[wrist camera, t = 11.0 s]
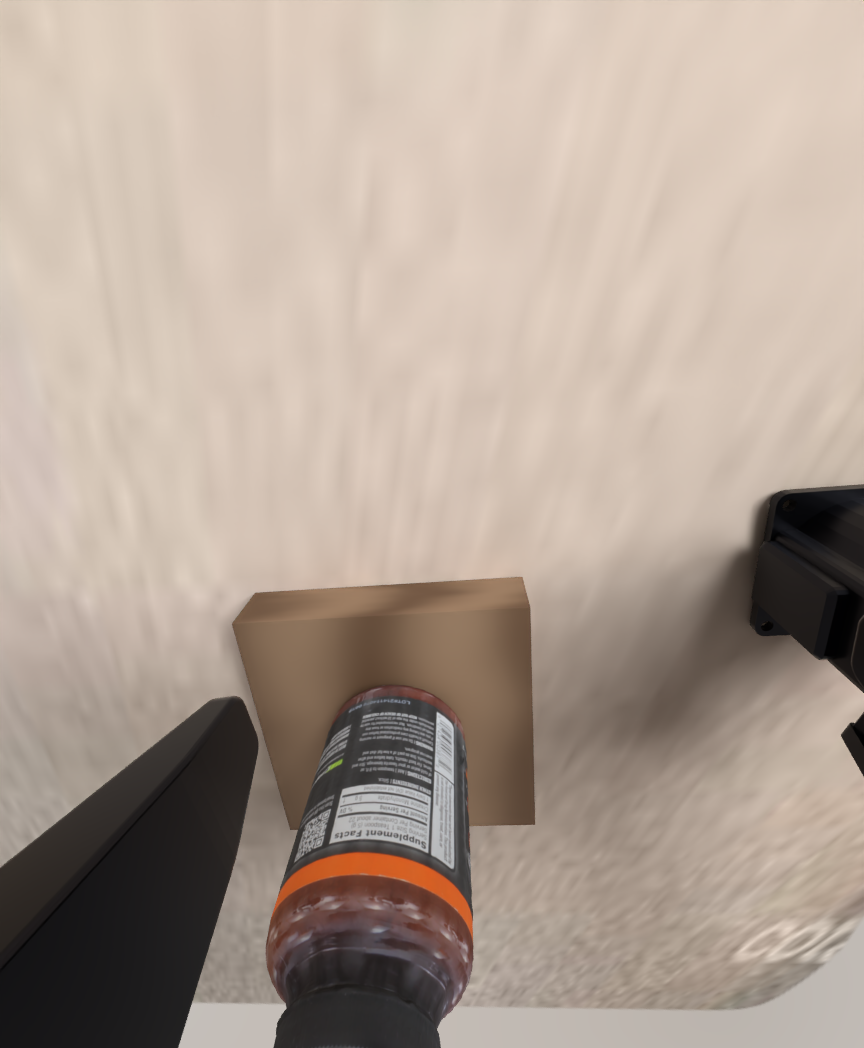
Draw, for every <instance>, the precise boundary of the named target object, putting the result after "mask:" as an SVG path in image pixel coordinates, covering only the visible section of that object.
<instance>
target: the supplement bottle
mask: <svg viewBox="0 0 864 1048" xmlns="http://www.w3.org/2000/svg"><path fill="white" fill-rule="evenodd" d="M467 769H468V766H467V750H466V744H465V735H464V731H463V728H462V725H461V721H460V720H459V718H458V717H457V715H456V714H455V712H454V711H453V710H452V709H451V708H450V707H449V706H448V705H447V704H446V703H445V702H443V701H442V700H441V699H440V698H438V697H436V696H435V695H434V694H431V693H429V692H427V691H425V690H423V689H419V688H414V687H411V686H405V685H382V686H378V687H374V688H371V689H368V690H366V691H363V692H361V693H359V694H357V695H355V696H354V697H352V698H351V699H350V700H349V701H347V702H346V703H345V704H344V705H343V707H342V708H341V709H340V710H339V711H338V713H337V715H336V717H335V718H334V720H333V722H332V726H331V728H330V731H329V732H328V736H327V739H326V742H325V746H324V749H323V752H322V755H321V758H320V762H319V765H318V768H317V771H316V775H315V777H314V781H313V783H312V787H311V791H310V794H309V797H308V800H307V804H306V807H305V810H304V813H303V816H302V819H301V822H300V826H299V829H298V832H297V836H296V839H295V842H294V846H293V849H292V852H291V855H290V859H289V862H288V865H287V869H286V872H285V875H284V878H283V881H282V884H281V887H280V891H279V895H278V898H277V901H276V904H275V908H274V911H273V914H272V917H271V922H270V927H269V932H268V937H267V943H266V961H267V968H268V972H269V975H270V978H271V980H272V983H273V985H274V987H275V988H276V991H277V993H278V994H279V996H280V998H281V999H282V1000H283V1001H284V1002H285V1003H286V1007H287V1009H286V1010H285V1011H284V1013H283V1014H282V1015H281V1018H280V1019H279V1021H278V1023H277V1028H276V1039H275V1044H274V1048H441V1047H440V1038H439V1033H438V1031H437V1028H438V1025H439V1023H440V1021H441V1020H442V1019H443V1018H444V1017H445V1016H446V1015H447V1014H448V1013H450V1012H451V1011H452V1010H453V1008H454V1007H455V1006H456V1005H457V1003H458V1002H459V1000H460V999H461V998H462V994H463V993H464V991H465V989H466V987H467V985H468V983H469V979H470V975H471V971H472V962H473V929H472V923H473V909H472V901H471V897H472V889H471V864H470V842H469V837H470V834H469V814H468V782H467Z"/></svg>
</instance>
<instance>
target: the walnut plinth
mask: <svg viewBox="0 0 864 1048" xmlns="http://www.w3.org/2000/svg"><path fill="white" fill-rule="evenodd" d="M232 625H233V629H234V632H235V636H236V640H237V643H238V647H239V650H240V654H241V657H242V661H243V664H244V668H245V671H246V675H247V678H248V682H249V685H250V689H251V692H252V696H253V699H254V703H255V706H256V710H257V714H258V717H259V721H260V724H261V728H262V731H263V735H264V738H265V742H266V745H267V749H268V752H269V756H270V759H271V763H272V766H273V770H274V773H275V777H276V781H277V784H278V788H279V791H280V795H281V798H282V802H283V805H284V809H285V812H286V816H287V819H288V823H289V826H290V830H298V829H299V826H300V822H301V819H302V816H303V813H304V810H305V807H306V804H307V800H308V797H309V794H310V791H311V787H312V783H313V781H314V777H315V775H316V771H317V768H318V765H319V762H320V758H321V755H322V752H323V749H324V746H325V742H326V739H327V736H328V732H329V731H330V728H331V726H332V722H333V720H334V718H335V717H336V715H337V713H338V711H339V710H340V709H341V708H342V707H343V705H344V704H345V703H346V702H347V701H349V700H350V699H351V698H352V697H354V696H355V695H357V694H359V693H361V692H363V691H366V690H368V689H371V688H374V687H378V686H382V685H405V686H411V687H414V688H419V689H423V690H425V691H427V692H429V693H431V694H434V695H435V696H436V697H438V698H440V699H441V700H442V701H443V702H445V703H446V704H447V705H448V706H449V707H450V708H451V709H452V710H453V711H454V712H455V714H456V715H457V717H458V718H459V720H460V721H461V725H462V728H463V731H464V735H465V744H466V750H467V766H468V769H467V782H468V814H469V826H489V825H535V802H534V757H533V712H532V667H531V623H530V605H529V601H528V597H527V593H526V590H525V586H524V582H523V578H522V577H515V578H498V579H481V580H464V581H447V582H431V583H414V584H397V585H380V586H364V587H347V588H330V589H313V590H297V591H280V592H263V593H255V594H254V595H253V597H252V598H251V599H250V601H249V602H248V603H247V605H246V606H245V607H244V609H243V610H242V611H241V613H240V614H239V615H238V617H237V618H236V619H235V621H234V622H233V623H232Z"/></svg>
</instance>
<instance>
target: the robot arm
mask: <svg viewBox="0 0 864 1048" xmlns="http://www.w3.org/2000/svg"><path fill="white" fill-rule="evenodd" d="M789 499H790V503H789V505H788V506H787V507H785V508H783V504H784V502H786V501H787V500H789ZM752 599H753V606H752V612H751V618H750V626H751V627H752V629H753V630H754V631H755V632H756V633H757V634H759V635H761V636H776V635H791V636H793V637H794V638H795V639H796V640H797V641H798V642H799V643H800V644H801V645H802V646H803V647H804V648H805V649H807V650H808V651H809V652H810V653H811V654H812V655H813V656H814V657H815V658H817V659H818V660H828V661H829V662H830V663H831V664H832V665H833V666H835V667H836V668H837V669H838V670H839V671H840V672H841V673H842V674H843V675H844V676H846V677H847V678H848V679H849V680H850V681H851V682H852V683H853V684H854V685H856V686H857V687H858V688H859V689H860V690H861V691H862V692H863V693H864V484H863V485H849V486H835V487H821V488H806V489H792V490H783V491H780V492H778V493H776V494H775V495H774V496H773V497H772V499H771V502H770V506H769V512H768V518H767V524H766V530H765V536H764V541H763V544H762V545H761V547H760V550H759V556H758V562H757V568H756V574H755V580H754V586H753V592H752ZM766 621H768V622H767V624H765V625H763V626H761V625H762V624H763V623H764V622H766ZM841 737H842V739H843V740H844V742H845V744H846V746H847V748H848V749H849V751H850V753H851V755H852V756H853V758H854V760H855V762H856V764H857V765H858V767H859V769H860V771H861V772H862V774H863V776H864V712H863V714H862V715H861V716H860V717H859V719H858V720H857V721H856V722H855V723H850V724H849V725H848V726H847V728H846V729H845V730H844V731H843V733H842V734H841ZM257 754H258V737H257V734H256V731H255V729H254V726H253V724H252V721H251V719H250V716H249V714H248V711H247V709H246V706H245V704H244V702H243V700H242V699H241V698H240V697H237V696H231V697H223V698H216V699H212V700H210V701H209V702H207V703H206V704H205V705H204V706H202V707H201V708H200V709H199V710H197V711H196V712H195V713H194V714H192V715H191V716H190V717H189V718H187V719H186V720H185V721H184V722H182V723H181V724H180V725H179V726H177V727H176V728H175V729H174V730H172V731H171V732H170V733H169V734H167V735H166V736H165V737H163V738H162V739H161V740H160V741H158V742H157V743H156V744H155V745H153V746H152V747H151V748H150V749H148V750H147V751H146V752H145V753H143V754H142V755H141V756H140V757H138V758H137V759H136V760H135V761H133V762H132V763H131V764H130V765H128V766H127V767H126V768H125V769H123V770H122V771H121V772H120V773H118V774H117V775H116V776H115V777H113V778H112V779H111V780H110V781H108V782H107V783H106V784H105V785H103V786H102V787H101V788H99V789H98V790H97V791H96V792H94V793H93V794H92V795H91V796H89V797H88V798H87V799H86V800H84V801H83V802H82V803H81V804H79V805H78V806H77V807H76V808H74V809H73V810H72V811H71V812H69V813H68V814H67V815H66V816H64V817H63V818H62V819H61V820H59V821H58V822H57V823H56V824H54V825H53V826H52V827H51V828H49V829H48V830H47V831H46V832H44V833H43V834H42V835H41V836H39V837H38V838H37V839H35V840H34V841H33V842H32V843H30V844H29V845H28V846H27V847H25V848H24V849H23V850H22V851H20V852H19V853H18V854H17V855H15V856H14V857H13V858H12V859H10V860H9V861H8V862H7V863H5V864H4V865H3V866H2V867H0V1048H178V1046H179V1043H180V1040H181V1036H182V1033H183V1030H184V1027H185V1023H186V1020H187V1017H188V1014H189V1011H190V1007H191V1004H192V1001H193V997H194V994H195V991H196V988H197V984H198V981H199V978H200V975H201V971H202V968H203V965H204V962H205V958H206V955H207V952H208V949H209V945H210V942H211V939H212V935H213V932H214V929H215V926H216V922H217V919H218V916H219V913H220V909H221V906H222V903H223V900H224V896H225V893H226V890H227V887H228V883H229V880H230V877H231V873H232V870H233V866H234V863H235V859H236V855H237V851H238V846H239V842H240V838H241V833H242V828H243V823H244V818H245V813H246V808H247V803H248V798H249V794H250V789H251V784H252V779H253V774H254V769H255V764H256V759H257Z"/></svg>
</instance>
